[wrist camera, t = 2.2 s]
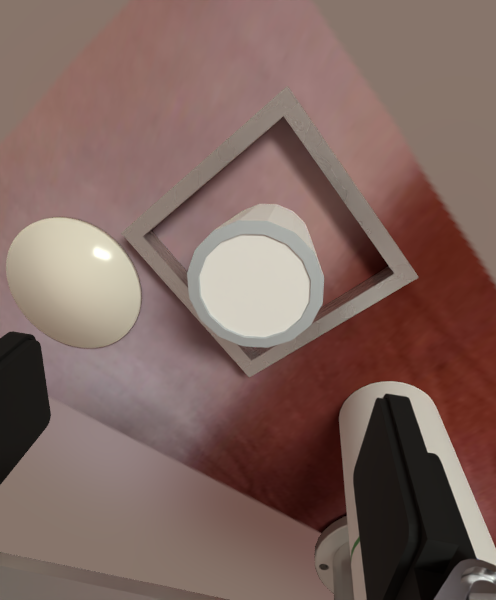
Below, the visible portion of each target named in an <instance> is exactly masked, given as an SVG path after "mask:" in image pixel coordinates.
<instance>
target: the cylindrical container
mask: <svg viewBox="0 0 496 600" xmlns="http://www.w3.org/2000/svg"><path fill="white" fill-rule="evenodd" d="M386 393H387V394H393V395H399V396H406V397H408V398H409V399H410V402H411V404H412V407H413V410H414V413H415V416H416V419H417V422H418V425H419V428H420V431H421V434H422V437H423V440H424V443H425V446H426V449H427V452H428V453H434V454H436V455H437V456H438V457H439V458H440V460H441V462H442V465H443V468H444V470H445V473H446V476H447V479H448V481H449V484H450V487H451V490H452V492H453V495H454V498H455V500H456V503H457V506H458V509H459V511H460V514H461V517H462V519H463V522H464V525H465V528H466V530H467V533H468V536H469V538H470V541H471V544H472V547H473V549H474V552H475V555H476V558H477V559H478V560H483V561H486V562H488V563H491V564H494V565H495V566H496V548H495V546H494V543H493V541H492V539H491V536H490V534H489V531H488V529H487V527H486V524H485V522H484V520H483V517H482V515H481V512H480V510H479V508H478V505H477V503H476V501H475V498H474V496H473V493H472V491H471V489H470V486H469V484H468V482H467V479H466V477H465V474H464V472H463V470H462V467H461V465H460V463H459V460H458V458H457V455H456V453H455V451H454V448H453V446H452V444H451V441H450V439H449V436H448V434H447V432H446V429H445V427H444V425H443V422H442V420H441V417H440V415H439V413H438V410H437V408H436V406H435V404H434V402H433V401H432V400H431V398H430V397H429V396H428V395H427V394H426V393H424V392H423V391H422V390H420V389H418V388H416V387H414V386H412V385H409V384H405V383H402V382H393V381H388V382H378V383H373V384H369V385H367V386H364V387H362V388H360V389H359V390H357V391H355V392H354V393H353V394H352V395H350V396H349V397H348V398H347V400H346V401H345V402H344V404H343V406H342V408H341V410H340V414H339V428H340V439H341V451H342V463H343V475H344V487H345V498H346V510H347V522H348V534H349V546H350V557H351V569H352V580H353V592H354V600H367V598H366V589H365V581H364V572H363V563H362V555H361V546H360V538H359V529H358V520H357V512H356V503H355V495H354V486H353V473H354V468H355V465H356V461H357V458H358V455H359V452H360V448H361V445H362V442H363V439H364V436H365V432H366V429H367V426H368V423H369V419H370V416H371V413H372V410H373V407H374V403H375V400H376V399H377V398H383V397H384V395H385V394H386Z"/></svg>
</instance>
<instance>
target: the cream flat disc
mask: <svg viewBox="0 0 496 600" xmlns="http://www.w3.org/2000/svg"><path fill="white" fill-rule="evenodd" d="M6 273H7V280H8V284H9V288H10V291H11V293H12V296H13V298H14V300H15V302H16V303H17V305H18V307H19V308H20V310H21V311H22V312H23V314H24V315H25V316H26V317H27V319H28V320H29V321H30V322H31V323H32V324H33V325H34V326H36V327H37V328H38V329H39V330H40V331H42V332H43V333H45V334H46V335H48V336H49V337H51V338H53V339H55V340H57V341H59V342H61V343H64V344H67V345H70V346H74V347H80V348H98V347H103V346H107V345H110V344H112V343H114V342H116V341H118V340H119V339H121V338H122V337H123V336H124V335H126V334H127V333H128V331H129V330H130V329H131V328H132V327H133V325H134V324H135V322H136V320H137V318H138V315H139V313H140V309H141V303H142V290H141V284H140V279H139V276H138V273H137V271H136V269H135V266H134V264H133V262H132V261H131V259H130V258H129V256H128V254H127V253H126V252H125V251H124V249H123V248H122V247H121V246H120V245H119V244H118V243H117V242H116V241H115V240H114V239H113V238H112V237H111V236H110V235H108V234H107V233H106V232H104V231H103V230H101V229H99V228H98V227H96V226H94V225H92V224H90V223H87V222H85V221H82V220H79V219H74V218H68V217H52V218H47V219H43V220H40V221H38V222H35V223H33V224H31V225H29V226H27V227H26V228H24V229H23V230H22V231H21V232H20V233H19V234H18V235H17V236H16V238H15V239H14V241H13V242H12V244H11V246H10V249H9V252H8V256H7V261H6Z"/></svg>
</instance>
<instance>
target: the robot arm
mask: <svg viewBox="0 0 496 600" xmlns="http://www.w3.org/2000/svg"><path fill="white" fill-rule="evenodd" d="M50 416H51V414H50V406H49V400H48V393H47V386H46V379H45V372H44V366H43V359H42V352H41V346H40V343H39V342H38V341H36V339H35V337H34V336H33V335H31V334H25V333H19V332H9V333H7V334H6V335H4V336H3V337H2V338H0V484H1V483H2V482H3V481H4V479H5V478H6V477H7V476H8V475H9V473H10V472H11V471H12V470H13V468H14V467H15V466H16V465H17V463H18V462H19V461H20V460H21V458H22V457H23V456H24V455H25V453H26V452H27V451H28V450H29V448H30V447H31V446H32V444H33V443H34V442H35V441H36V440H37V438H38V437H39V436H40V434H41V433H42V432H43V431H44V430H45V428H46V427H47V425H48V423H49V421H50ZM353 486H354V495H355V503H356V512H357V520H358V529H359V538H360V546H361V555H362V563H363V572H364V581H365V589H366V598H367V600H496V566H495V565H494V564H491V563H488V562H486V561H483V560H478V559H477V558H476V555H475V552H474V549H473V547H472V544H471V541H470V538H469V536H468V533H467V530H466V528H465V525H464V522H463V519H462V517H461V514H460V511H459V509H458V506H457V503H456V500H455V498H454V495H453V492H452V490H451V487H450V484H449V481H448V479H447V476H446V473H445V470H444V468H443V465H442V462H441V460H440V458H439V457H438V456H437V455H436V454H434V453H428V452H427V449H426V446H425V443H424V440H423V437H422V434H421V431H420V428H419V425H418V422H417V419H416V416H415V413H414V410H413V407H412V404H411V402H410V399H409V398H408V397H406V396H399V395H393V394H387V393H386V394H385V395H384V397H383V398H377V399H376V400H375V403H374V407H373V410H372V413H371V416H370V419H369V423H368V426H367V429H366V432H365V436H364V439H363V442H362V445H361V448H360V452H359V455H358V458H357V461H356V465H355V468H354V473H353ZM315 568H316V571H317V574H318V576H319V578H320V580H321V581H322V583H323V584H324V585H325V586H326V587H327V588H328V589H329V590H330V591H331V592H332V593H333V594H334V600H354V592H353V580H352V569H351V557H350V546H349V534H348V522H347V516H345V517H343V518H341V519H339V520H337V521H335V522H334V523H332V524H331V525H330V526H329V527H327V528H326V529H325V530H324V531H323V533H322V534H321V535H320V537H319V538H318V541H317V543H316V546H315ZM0 600H227V599H223V598H218V597H214V596H209V595H204V594H199V593H195V592H190V591H185V590H181V589H176V588H171V587H167V586H162V585H157V584H152V583H148V582H143V581H138V580H132V579H128V578H124V577H118V576H114V575H108V574H104V573H99V572H95V571H90V570H85V569H80V568H75V567H70V566H65V565H60V564H55V563H51V562H46V561H41V560H36V559H31V558H27V557H21V556H17V555H11V554H7V553H2V552H0Z"/></svg>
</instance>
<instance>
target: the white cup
mask: <svg viewBox="0 0 496 600" xmlns="http://www.w3.org/2000/svg"><path fill="white" fill-rule="evenodd" d="M187 279H188V291H189V299H190V301H191V302H192V304H193V306H194V308H195V310H196V312H197V314H198V316H199V318H200V320H201V321H202V322H203V323H205V324H206V325H207V326H208V327H209V328H210V329H211V330H212V331H213V332H215V333H216V334H217V335H218V336H219V337H221V338H224V339H226V340H229V341H231V342H233V343H236V344H238V345H241V346H246V347H264V348H268V347H272V346H275V345H278V344H282V343H285V342H288V341H291V340H293V339H294V338H295V337H297V336H298V335H299V334H300V333H302V332H303V331H304V330H305V329H307V328H308V327H309V326H310V325H311V324H312V322H313V320H314V318H315V317H316V315H317V313H318V311H319V309H320V307H321V305H322V303H323V288H324V276H323V273H322V270H321V267H320V264H319V261H318V258H317V255H316V252H315V249H314V246H313V243H312V240H311V237H310V235H309V232H308V230H307V227H306V224H305V223H304V222H303V221H302V220H301V219H300V218H299V217H298V216H297V215H296V214H295V213H294V212H293V211H292V210H289V209H287V208H285V207H282V206H280V205H278V204H258V205H255V206H253V207H250V208H248V209H246V210H243V211H242V212H240V213H239V214H237V215H236V216H234V217H233V218H231V219H230V220H228V221H227V222H225V223H224V224H222V225H221V226H220V227H218V228H217V229H215V230H214V231H213V232H212V233H211V234H210V235H209V236H208V237H207V238H206V239H205V240H204V241H203V242H202V243H201V244H200V245H199V246H198V247H197V248H196V249H195V252H194V254H193V257H192V260H191V263H190V266H189V269H188V272H187Z"/></svg>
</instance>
